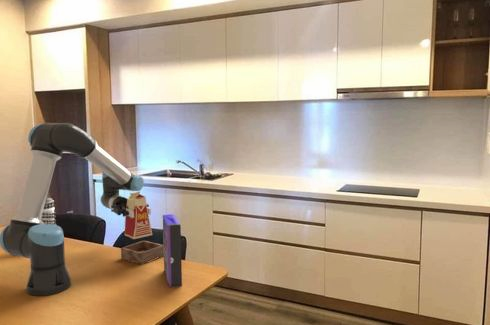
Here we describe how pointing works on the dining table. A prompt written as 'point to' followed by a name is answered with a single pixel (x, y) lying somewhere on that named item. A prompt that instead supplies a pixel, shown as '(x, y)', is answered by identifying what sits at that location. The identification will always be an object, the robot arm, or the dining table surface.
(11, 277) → the dining table surface
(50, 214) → the spiral seashell
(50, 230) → the robot arm
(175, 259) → the cereal box
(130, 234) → the milk carton
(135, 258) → the open box
